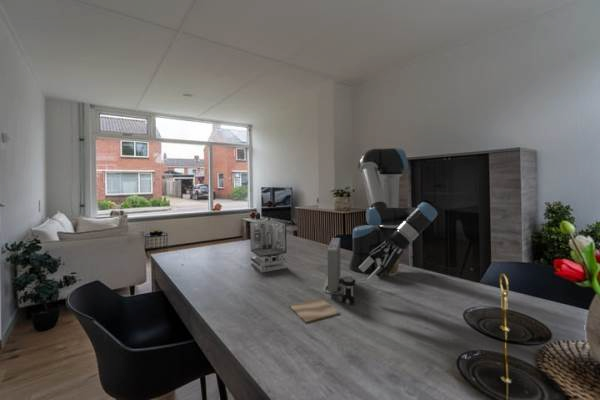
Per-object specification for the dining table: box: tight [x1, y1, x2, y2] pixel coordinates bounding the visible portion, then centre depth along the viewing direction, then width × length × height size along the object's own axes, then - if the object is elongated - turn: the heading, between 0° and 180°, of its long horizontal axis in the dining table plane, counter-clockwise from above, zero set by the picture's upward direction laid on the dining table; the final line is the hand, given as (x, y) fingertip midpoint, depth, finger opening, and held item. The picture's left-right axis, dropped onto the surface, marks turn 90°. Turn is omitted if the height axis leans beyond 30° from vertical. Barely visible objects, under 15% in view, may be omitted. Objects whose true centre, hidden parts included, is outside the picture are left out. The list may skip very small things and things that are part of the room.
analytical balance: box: [249, 220, 288, 273], centre depth 156 cm, size 16×19×25 cm
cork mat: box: [288, 297, 341, 324], centre depth 103 cm, size 14×14×1 cm
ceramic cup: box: [379, 254, 401, 277], centre depth 144 cm, size 13×10×10 cm
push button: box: [338, 275, 356, 306], centre depth 110 cm, size 7×5×10 cm
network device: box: [322, 237, 344, 295], centre depth 127 cm, size 26×9×20 cm, turn 168°
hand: (365, 275), depth 108 cm, fingers open, 13 cm apart
